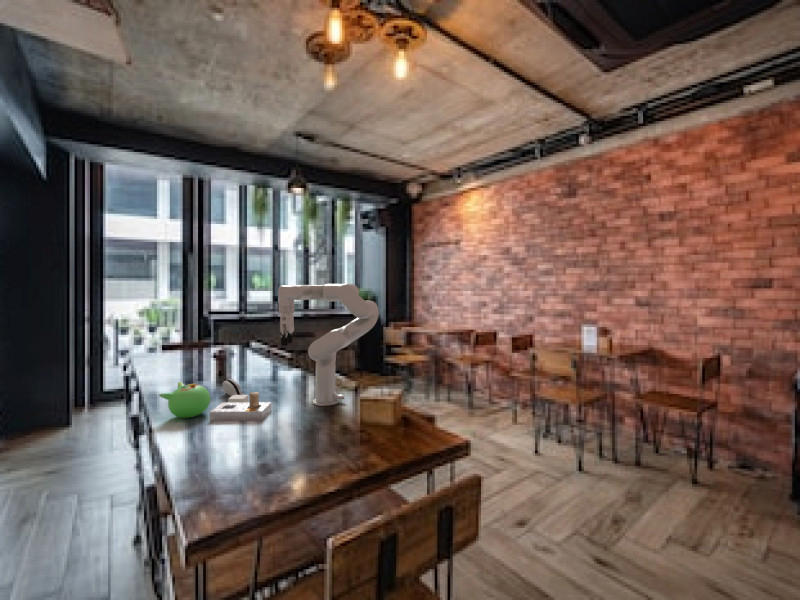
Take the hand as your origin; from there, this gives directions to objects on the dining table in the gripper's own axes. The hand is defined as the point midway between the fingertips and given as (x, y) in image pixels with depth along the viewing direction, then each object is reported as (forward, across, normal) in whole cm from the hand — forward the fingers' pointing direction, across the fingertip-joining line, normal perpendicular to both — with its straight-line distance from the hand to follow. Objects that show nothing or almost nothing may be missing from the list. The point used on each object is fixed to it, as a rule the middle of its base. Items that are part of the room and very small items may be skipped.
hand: (286, 344), depth 209 cm
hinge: (+29, +8, +30) cm, 42 cm away
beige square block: (+28, -12, +20) cm, 37 cm away
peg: (+28, -25, +8) cm, 39 cm away
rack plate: (+28, -25, +14) cm, 40 cm away
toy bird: (+28, -25, +37) cm, 53 cm away
